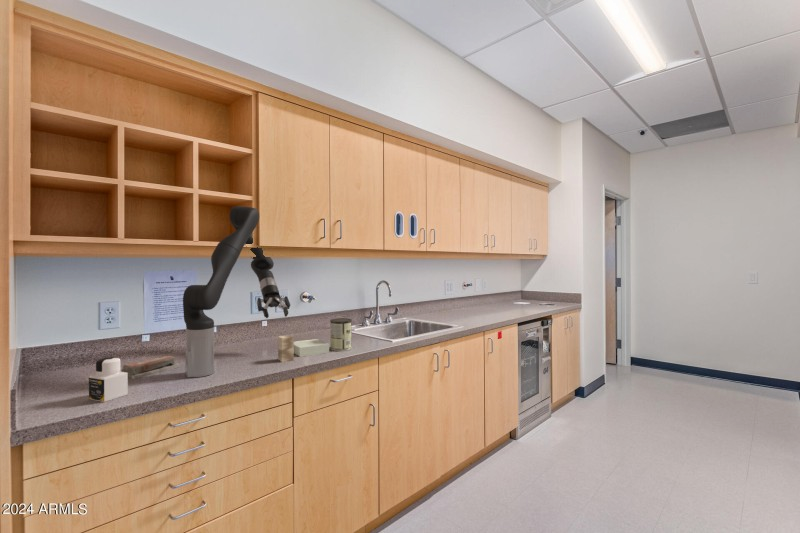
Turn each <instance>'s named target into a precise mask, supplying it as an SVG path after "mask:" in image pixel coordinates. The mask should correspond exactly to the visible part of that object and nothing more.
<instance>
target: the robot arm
mask: <svg viewBox="0 0 800 533" xmlns="http://www.w3.org/2000/svg"><path fill="white" fill-rule="evenodd" d="M228 216H229V217H228V218H229V221H230V224H231V225H232V226H233V229H234V230H235V231H234V232H232V233H231V234H229V235H227V236H225V237H223V238H222V239H221V240H220V241H219V242H218V243H217V245H216V246H215V249H214V250H213V252H212V254H211V258H210V261H211V268H212V273H211V277H210V279H209V281H208V282H207V284H191V285H189V286H187V287H186V288H185V289H184V291H183V294H182V295H183V296H182V307H183V308H182V310H183V320H184V323H185V327H186V328H185V330H186V333H185V334H186V336H185V337H186V339H185V341H186V343H185V344H186V347H185V353H184V354H185V375H186V377H187V378H201V377H208V376H210V375H212V374H214V373H215V321H214V319H213V318H212V317H209V316H207V314H205V312H204V311H210V310H213V309H214V308H215V307H216V306H217V305H218V303H219V301H220V299H221V296H222V293H223V291H224V289H225V286H226V283H227V281H228V278H229V276H230V274H231V272H232V270H233V268H234V266H235V264H237V261H238V259H239V257H240V254H241V253H242V250H243V249H244V247H245V246H246V244H252V243H253V238H252V233H253V232H254V231H255V229H256V228H257V225H258V224H259V221H260V211H259V210H258V209H257V208H255V207H250V206H241V205H240V206H239V205H237V206H233V207H232V208H231V209H230V211H229V215H228ZM250 250H251V251H252V252H253V253H254V254H255V255H256V257H253V258H252V257H251V259H252V261H251V262H250V268H251V270H252V271H253V272H254V273H255V275H256V277H257V278H258V279H257V280H258V282H259V288H260V292H261V295H262V298H260V297H258V298H257V300H256V304H257V310H258V312H263V316H264V318H265V319H268V318H269V317H270V316H269V312H268V309H269V308H279V309H281V310H282V311H283V315H284V317H288V315H289V310H290V307H291V302H290V301H289V300H290V299H289V297H288V296H284V297H282V296H281V295H280V291H279V289H278V288H279V287H278V285H277V282H276V280H275V277H274V274H273V272H272V269H273V268H274V261H273V258H272V257H271V256H270V257H265V256H264V255H263V250H262V248H258V247H257V248H251V249H250ZM263 303H264V306H263Z"/></svg>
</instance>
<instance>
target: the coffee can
mask: <svg viewBox="0 0 800 533" xmlns="http://www.w3.org/2000/svg"><path fill="white" fill-rule="evenodd" d="M352 321H353V319H352V318H345V317H342V318H341V317H340V318H331V319H330V320H329V322H330V347H329V350H331V351H333V350H334V351H335V352H345V351H350V350H351V349H352V348H353V346H352ZM334 351H333V352H334Z"/></svg>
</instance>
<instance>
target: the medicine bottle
mask: <svg viewBox="0 0 800 533" xmlns="http://www.w3.org/2000/svg"><path fill="white" fill-rule="evenodd" d="M121 371H122V369H121V359H120V357H119V358H118V357H116V356H114V357H113V356H112V357H111V356H110V357H104V358H100V359H98V360H97V361H96V362H95V374H92V375H89V377H88V399H89V400H91V401H96V402H102V403H106V402H110V401H113V400H116V399H119V398H122V397H125V396H127V395H128V394H129V393H128V392H129V390H128V386H129V385H128V384H129V382H128V380H129V378H128V373H126V372H121Z"/></svg>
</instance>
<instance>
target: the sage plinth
mask: <svg viewBox="0 0 800 533" xmlns="http://www.w3.org/2000/svg"><path fill="white" fill-rule="evenodd" d="M328 353H330V343H328V342H326V341H323V340H321V339H318V338H314V339H305V340H298V341H297V340H296V341H295V340H294V355H296V356H297V357H308V356H314V355H321V354H328Z"/></svg>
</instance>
